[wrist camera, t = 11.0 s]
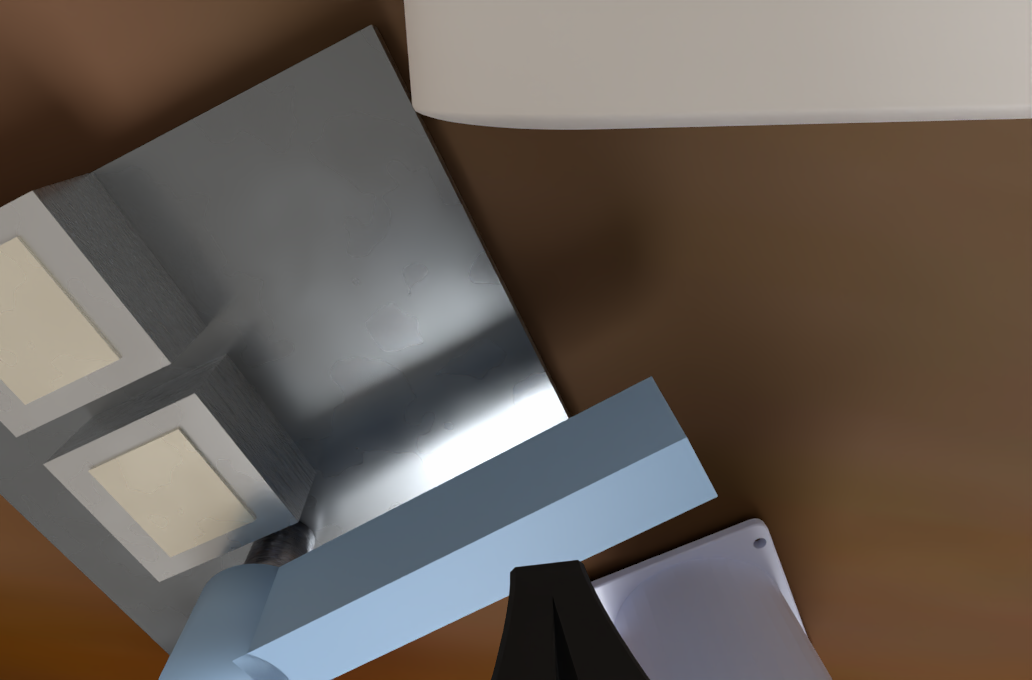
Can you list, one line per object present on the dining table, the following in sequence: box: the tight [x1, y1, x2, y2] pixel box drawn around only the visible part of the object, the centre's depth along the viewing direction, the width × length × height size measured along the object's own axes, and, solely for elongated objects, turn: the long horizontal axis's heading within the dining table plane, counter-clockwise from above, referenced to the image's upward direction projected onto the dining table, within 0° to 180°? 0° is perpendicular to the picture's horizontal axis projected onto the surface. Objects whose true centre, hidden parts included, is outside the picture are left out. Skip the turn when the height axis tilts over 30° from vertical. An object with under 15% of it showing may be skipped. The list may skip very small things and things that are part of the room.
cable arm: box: [159, 376, 718, 680], centre depth 17 cm, size 16×4×3 cm, turn 119°
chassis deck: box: [0, 25, 571, 655], centre depth 21 cm, size 18×18×1 cm
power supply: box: [43, 353, 316, 582], centre depth 19 cm, size 5×5×3 cm
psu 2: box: [0, 172, 207, 437], centre depth 17 cm, size 5×5×3 cm
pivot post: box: [244, 521, 315, 567], centre depth 21 cm, size 2×2×4 cm
